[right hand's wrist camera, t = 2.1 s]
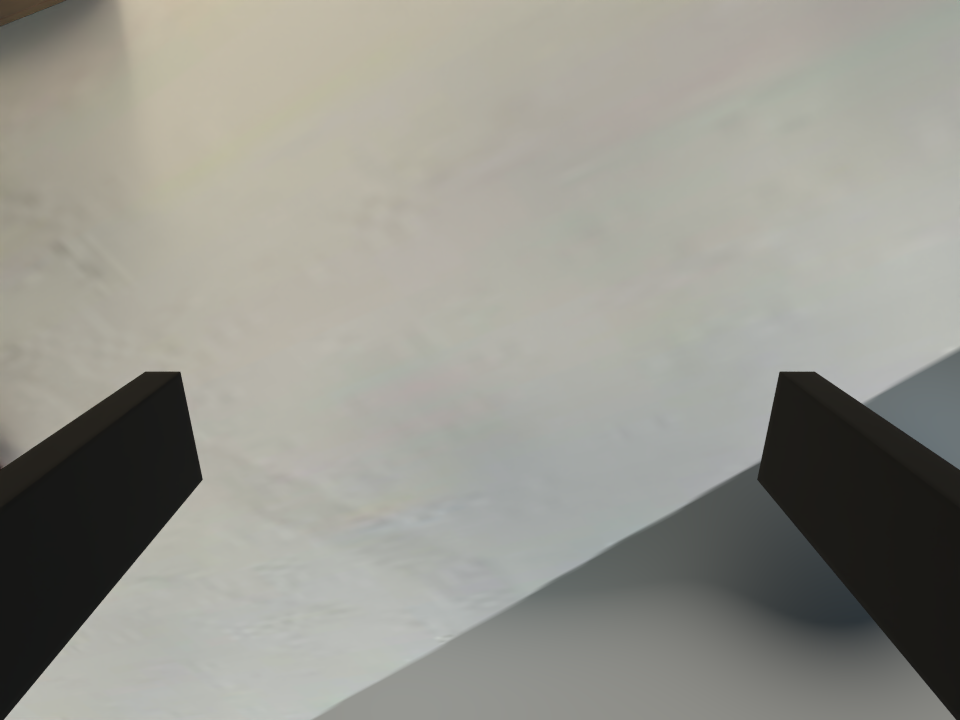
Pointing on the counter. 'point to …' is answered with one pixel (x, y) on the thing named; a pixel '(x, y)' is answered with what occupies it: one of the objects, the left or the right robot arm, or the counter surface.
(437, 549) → the counter surface
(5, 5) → the chest
